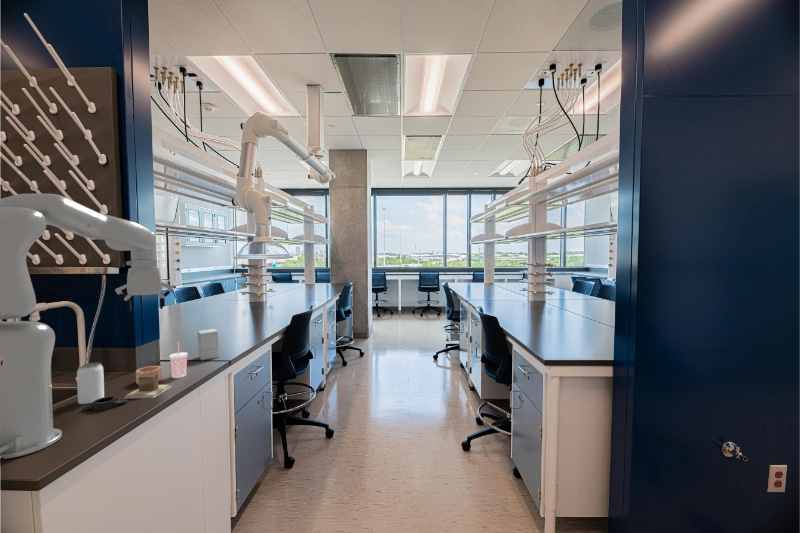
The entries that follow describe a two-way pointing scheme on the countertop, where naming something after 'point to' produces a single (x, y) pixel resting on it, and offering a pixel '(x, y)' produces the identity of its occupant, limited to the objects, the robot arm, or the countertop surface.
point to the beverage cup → (178, 364)
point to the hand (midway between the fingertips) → (145, 309)
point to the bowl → (148, 372)
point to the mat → (149, 397)
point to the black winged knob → (103, 403)
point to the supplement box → (208, 344)
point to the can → (90, 383)
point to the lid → (148, 387)
